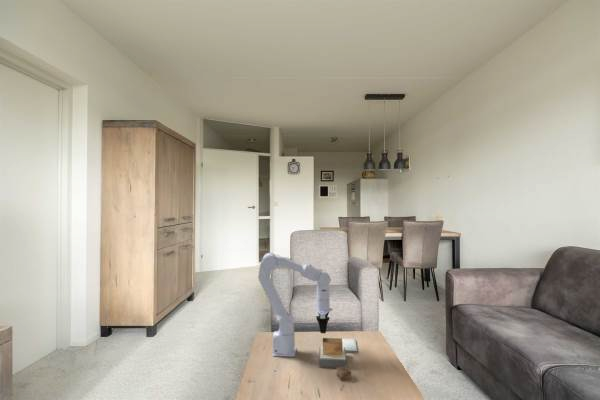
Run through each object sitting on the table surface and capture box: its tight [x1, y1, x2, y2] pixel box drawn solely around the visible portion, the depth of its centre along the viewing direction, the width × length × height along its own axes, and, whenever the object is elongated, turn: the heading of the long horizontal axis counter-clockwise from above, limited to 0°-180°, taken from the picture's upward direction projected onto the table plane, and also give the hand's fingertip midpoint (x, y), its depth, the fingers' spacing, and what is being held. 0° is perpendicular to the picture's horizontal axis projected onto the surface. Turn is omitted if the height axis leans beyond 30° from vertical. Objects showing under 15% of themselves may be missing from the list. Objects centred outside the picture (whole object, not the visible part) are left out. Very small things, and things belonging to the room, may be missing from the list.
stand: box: [318, 346, 348, 369], centre depth 124 cm, size 11×11×3 cm
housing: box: [322, 337, 343, 355], centre depth 124 cm, size 8×4×5 cm, turn 85°
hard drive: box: [342, 338, 358, 354], centre depth 137 cm, size 2×8×12 cm
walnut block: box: [336, 365, 352, 382], centre depth 112 cm, size 4×4×3 cm
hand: (323, 329), depth 133 cm, fingers open, 7 cm apart
